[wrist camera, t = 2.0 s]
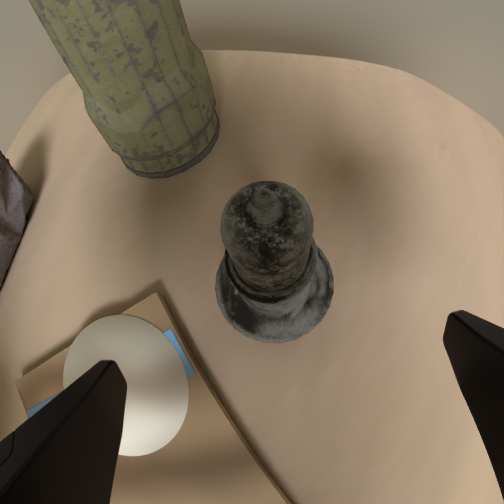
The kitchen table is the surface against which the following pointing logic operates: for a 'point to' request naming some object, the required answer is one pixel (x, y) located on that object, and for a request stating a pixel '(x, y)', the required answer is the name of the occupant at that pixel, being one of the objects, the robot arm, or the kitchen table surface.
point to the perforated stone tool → (11, 212)
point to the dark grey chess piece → (271, 265)
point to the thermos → (137, 79)
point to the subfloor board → (160, 414)
